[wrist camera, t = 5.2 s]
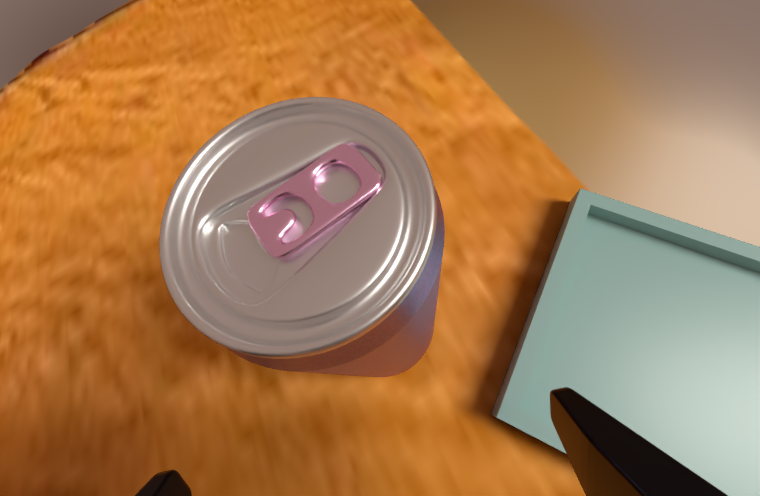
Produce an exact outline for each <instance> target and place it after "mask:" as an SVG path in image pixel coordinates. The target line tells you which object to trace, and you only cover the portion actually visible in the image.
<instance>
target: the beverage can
mask: <svg viewBox="0 0 760 496" xmlns="http://www.w3.org/2000/svg"><path fill="white" fill-rule="evenodd" d="M444 233H445V231H444V218H443V211H442V207H441V203H440V200H439V196H438V193H437V191H436V189H435V186H434V183H433V179H432V176H431V173H430V170H429V168H428V165H427V163H426V161H425V159H424V157H423V155H422V153H421V152H420V150H419V149H418V147H417V145H416V144H415V143H414V142H413V140H412V139H411V138H410V137H409V136H408V134H407V133H406V132H405V131H404V130H403V129H402V128H400V127H399V126H398V125H397V124H396V123H394V122H393V121H392V120H390V119H389V118H387V117H386V116H384V115H383V114H381V113H379V112H377V111H375V110H374V109H371V108H369V107H367V106H364V105H361V104H358V103H355V102H352V101H348V100H343V99H337V98H329V97H306V98H297V99H290V100H285V101H281V102H277V103H274V104H270V105H267V106H264V107H262V108H259V109H257V110H254V111H252V112H250V113H248V114H246V115H244V116H242V117H240V118H239V119H237V120H235V121H234V122H232V123H230V124H229V125H227V126H226V127H225V128H223V129H222V130H220V131H219V132H218V133H217V134H215V135H214V136H213V137H212V138H211V139H210V140H208V141H207V142H206V143H205V144H204V145H203V146H202V147H201V148H200V149H199V150H198V152H197V153H196V154H195V155H194V156H193V157H192V159H191V160H190V161H189V162H188V164H187V165H186V166H185V168H184V169H183V171H182V172H181V174H180V176H179V177H178V179H177V181H176V183H175V185H174V187H173V189H172V191H171V193H170V196H169V198H168V200H167V203H166V206H165V209H164V213H163V217H162V222H161V228H160V238H159V251H160V261H161V268H162V272H163V276H164V279H165V282H166V285H167V288H168V290H169V292H170V294H171V297H172V298H173V300H174V302H175V304H176V305H177V307H178V308H179V310H180V311H181V312H182V314H183V315H184V316H185V317H186V318H187V320H188V321H189V322H190V323H191V324H192V325H193V326H194V327H195V328H196V329H198V330H199V331H200V332H201V333H203V334H204V335H205V336H207V337H208V338H210V339H211V340H213V341H215V342H216V343H218V344H220V345H222V346H224V347H226V348H228V349H229V350H230V351H232V352H233V353H235V354H236V355H238V356H240V357H242V358H244V359H246V360H248V361H250V362H252V363H255V364H258V365H261V366H264V367H268V368H272V369H277V370H284V371H295V372H310V373H325V374H340V375H355V376H370V377H388V376H393V375H397V374H400V373H402V372H404V371H406V370H408V369H409V368H411V367H412V366H413V365H415V364H416V363H417V362H418V361H419V360H420V359H421V357H422V356H423V355H424V353H425V352H426V350H427V348H428V346H429V344H430V342H431V339H432V335H433V329H434V321H435V313H436V304H437V296H438V288H439V280H440V272H441V264H442V256H443V247H444Z"/></svg>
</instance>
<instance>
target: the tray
mask: <svg viewBox="0 0 760 496" xmlns="http://www.w3.org/2000/svg"><path fill="white" fill-rule="evenodd" d="M563 387H569V388H571V389H573V390H574V391H576V392H577V393H579V394H580V395H582V396H583V397H585V398H586V399H587V400H589V401H590V402H592V403H593V404H595V405H596V406H598V407H599V408H601V409H602V410H604V411H605V412H607V413H608V414H609V415H611V416H612V417H614V418H615V419H617V420H618V421H620V422H621V423H623V424H624V425H626V426H627V427H628V428H630V429H631V430H633V431H634V432H636V433H637V434H639V435H640V436H642V437H643V438H645V439H646V440H647V441H649V442H650V443H652V444H653V445H655V446H656V447H658V448H659V449H661V450H662V451H664V452H665V453H667V454H668V455H669V456H671V457H672V458H674V459H675V460H677V461H678V462H680V463H681V464H683V465H684V466H686V467H687V468H688V469H690V470H691V471H693V472H694V473H696V474H697V475H699V476H700V477H702V478H703V479H705V480H706V481H708V482H709V483H710V484H712V485H713V486H715V487H716V488H718V489H719V490H721V491H722V492H724V493H725V494H727V495H728V496H760V247H758V246H755V245H752V244H749V243H746V242H743V241H740V240H736V239H734V238H731V237H727V236H724V235H721V234H718V233H715V232H712V231H709V230H706V229H703V228H700V227H697V226H694V225H691V224H688V223H685V222H681V221H679V220H675V219H672V218H669V217H666V216H663V215H660V214H657V213H654V212H651V211H648V210H645V209H642V208H639V207H636V206H633V205H629V204H627V203H624V202H620V201H617V200H614V199H611V198H608V197H605V196H602V195H599V194H596V193H593V192H590V191H587V190H584V189H581V188H580V190H579V191H578V192H577V193H576V195H575V196H574V197H573V198H572V200H571V201H570V203H569V206H568V209H567V211H566V214H565V217H564V219H563V222H562V225H561V227H560V230H559V233H558V235H557V238H556V241H555V244H554V246H553V249H552V252H551V254H550V257H549V260H548V262H547V265H546V268H545V270H544V273H543V276H542V279H541V281H540V284H539V287H538V289H537V292H536V295H535V297H534V300H533V303H532V305H531V308H530V311H529V313H528V316H527V319H526V322H525V324H524V327H523V330H522V332H521V335H520V338H519V340H518V343H517V346H516V348H515V351H514V354H513V357H512V359H511V362H510V365H509V367H508V370H507V373H506V375H505V378H504V381H503V383H502V386H501V389H500V392H499V394H498V397H497V400H496V402H495V405H494V408H493V410H492V413H491V415H493V416H495V417H497V418H499V419H500V420H502V421H504V422H506V423H508V424H510V425H512V426H514V427H516V428H518V429H520V430H522V431H524V432H525V433H527V434H529V435H531V436H533V437H535V438H537V439H539V440H541V441H543V442H545V443H547V444H549V445H550V446H552V447H554V448H556V449H558V450H560V451H562V452H564V453H566V451H565V449H564V447H563V445H562V443H561V440H560V438H559V436H558V434H557V432H556V430H555V427H554V425H553V422H552V419H551V414H550V392H551V390H554V389H558V388H563ZM566 454H567V453H566Z"/></svg>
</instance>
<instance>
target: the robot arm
mask: <svg viewBox="0 0 760 496" xmlns="http://www.w3.org/2000/svg"><path fill="white" fill-rule="evenodd" d="M550 414H551V419H552V422H553V425H554V427H555V430H556V432H557V434H558V436H559V438H560V440H561V443H562V445H563V447H564V449H565V451H566V453H567V456H568V458H569V460H570V462H571V464H572V467H573V469H574V471H575V473H576V475H577V477H578V480H579V482H580V484H581V486H582V488H583V490H584V492H585V494H586V496H728V495H727V494H725V493H724V492H722V491H721V490H719V489H718V488H716V487H715V486H713V485H712V484H710V483H709V482H708V481H706V480H705V479H703V478H702V477H700V476H699V475H697V474H696V473H694V472H693V471H691V470H690V469H688V468H687V467H686V466H684V465H683V464H681V463H680V462H678V461H677V460H675V459H674V458H672V457H671V456H669V455H668V454H667V453H665V452H664V451H662V450H661V449H659V448H658V447H656V446H655V445H653V444H652V443H650V442H649V441H647V440H646V439H645V438H643V437H642V436H640V435H639V434H637V433H636V432H634V431H633V430H631V429H630V428H628V427H627V426H626V425H624V424H623V423H621V422H620V421H618V420H617V419H615V418H614V417H612V416H611V415H609V414H608V413H607V412H605V411H604V410H602V409H601V408H599V407H598V406H596V405H595V404H593V403H592V402H590V401H589V400H587V399H586V398H585V397H583V396H582V395H580V394H579V393H577V392H576V391H574V390H573V389H571V388H569V387H563V388H558V389H554V390H551V392H550ZM135 496H192V495H191V490H190V488H189V486H188V485H187V484H186V482H185V481H184V480H183V478H182V477H181V476H180V474H179V473H178V472H177V471H176V470H169V471H164V472H160V473H158V474H156V475H155V476H153V477H152V478H151V479H150V480H149V482H148V483H147V484H146V485H145V486H144V487H143V488H142V489H141V490H140V491H139V492H138V493H137V494H136V495H135Z"/></svg>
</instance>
